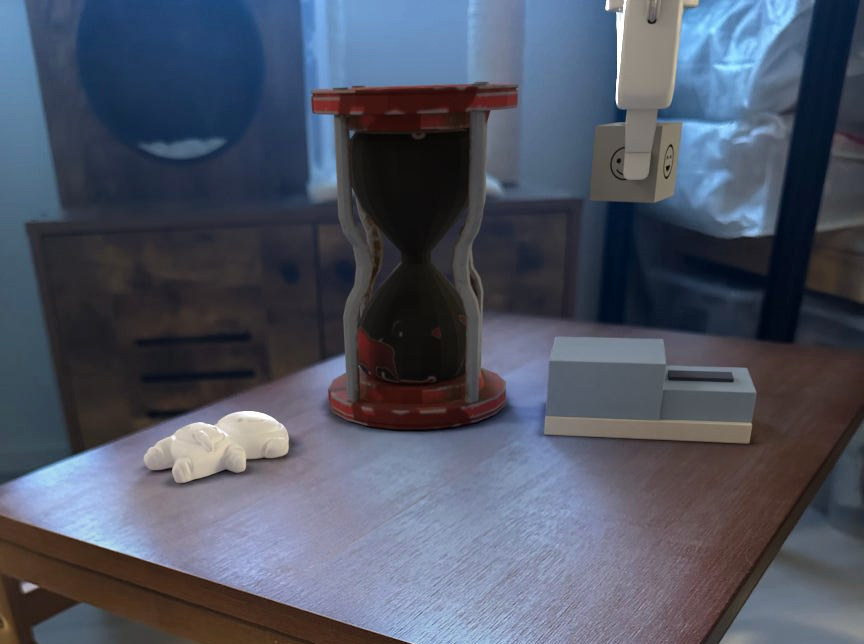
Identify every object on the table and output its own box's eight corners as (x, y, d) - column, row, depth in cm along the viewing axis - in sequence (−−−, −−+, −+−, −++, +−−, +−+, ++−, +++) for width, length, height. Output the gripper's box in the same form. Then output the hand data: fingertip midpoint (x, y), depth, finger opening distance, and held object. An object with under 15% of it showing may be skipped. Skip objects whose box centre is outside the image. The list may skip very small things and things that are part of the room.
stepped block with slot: (738, 411, 81) (750, 340, 78) (749, 443, 74) (762, 367, 71) (551, 404, 84) (555, 335, 81) (544, 434, 77) (548, 361, 74)
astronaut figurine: (128, 461, 75) (121, 424, 73) (253, 426, 81) (250, 391, 80) (185, 491, 69) (179, 451, 67) (315, 451, 75) (312, 414, 74)
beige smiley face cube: (589, 200, 72) (595, 125, 69) (611, 193, 75) (618, 122, 73) (654, 202, 70) (662, 125, 67) (673, 195, 73) (682, 122, 71)
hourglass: (294, 402, 87) (270, 89, 74) (426, 369, 95) (425, 82, 83) (406, 445, 76) (400, 86, 63) (543, 403, 84) (563, 80, 72)
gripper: (716, -71, 55) (684, 189, 62) (696, -39, 72) (673, 162, 79) (606, -64, 57) (587, 189, 64) (612, -34, 74) (597, 163, 81)
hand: (635, 174), depth 72 cm, fingers closed on beige smiley face cube, 5 cm apart
